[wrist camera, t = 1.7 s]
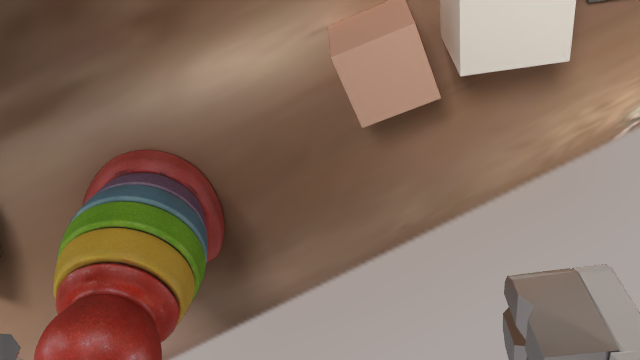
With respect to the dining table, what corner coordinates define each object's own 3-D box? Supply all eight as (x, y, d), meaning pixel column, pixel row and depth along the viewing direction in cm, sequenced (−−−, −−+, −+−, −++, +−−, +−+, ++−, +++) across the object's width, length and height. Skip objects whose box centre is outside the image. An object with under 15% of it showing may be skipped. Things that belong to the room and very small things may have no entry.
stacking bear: (85, 242, 47) (-13, 455, 33) (79, 135, 42) (-44, 335, 27) (221, 258, 48) (184, 470, 34) (233, 157, 43) (194, 358, 28)
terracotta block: (328, 25, 37) (330, 57, 33) (402, -6, 36) (415, 23, 32) (356, 91, 40) (362, 128, 36) (427, 63, 39) (441, 98, 35)
